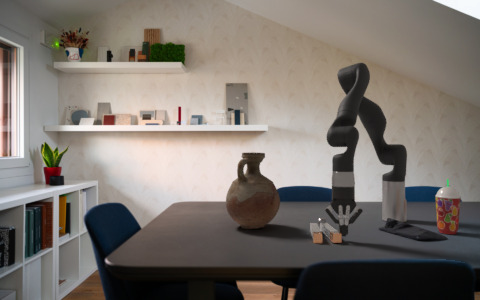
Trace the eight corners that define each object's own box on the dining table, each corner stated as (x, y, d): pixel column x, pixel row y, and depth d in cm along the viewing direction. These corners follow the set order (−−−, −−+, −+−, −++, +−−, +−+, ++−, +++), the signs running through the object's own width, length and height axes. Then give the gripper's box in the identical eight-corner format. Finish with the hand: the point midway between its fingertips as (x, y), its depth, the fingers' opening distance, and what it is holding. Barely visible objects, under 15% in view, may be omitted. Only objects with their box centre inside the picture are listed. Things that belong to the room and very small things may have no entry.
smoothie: (457, 231, 143) (458, 178, 143) (463, 236, 135) (463, 180, 135) (433, 229, 146) (433, 178, 146) (437, 234, 138) (437, 179, 138)
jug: (287, 224, 156) (287, 152, 156) (268, 235, 137) (268, 152, 136) (239, 220, 165) (239, 152, 165) (216, 230, 146) (215, 152, 146)
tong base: (309, 228, 148) (309, 217, 148) (325, 229, 147) (325, 217, 147) (313, 243, 125) (313, 229, 125) (333, 243, 125) (333, 230, 125)
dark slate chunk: (413, 243, 127) (413, 229, 127) (375, 230, 148) (375, 217, 148) (452, 241, 130) (452, 227, 130) (409, 228, 152) (409, 216, 152)
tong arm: (319, 230, 144) (319, 222, 144) (326, 230, 144) (326, 222, 144) (333, 242, 125) (333, 233, 125) (341, 242, 125) (341, 233, 125)
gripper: (360, 184, 132) (361, 234, 131) (322, 184, 133) (322, 233, 133) (365, 185, 124) (366, 238, 124) (324, 185, 126) (325, 238, 125)
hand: (343, 235), depth 128 cm, fingers closed
